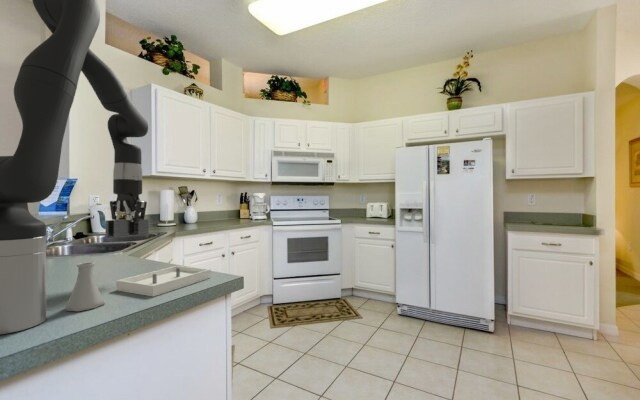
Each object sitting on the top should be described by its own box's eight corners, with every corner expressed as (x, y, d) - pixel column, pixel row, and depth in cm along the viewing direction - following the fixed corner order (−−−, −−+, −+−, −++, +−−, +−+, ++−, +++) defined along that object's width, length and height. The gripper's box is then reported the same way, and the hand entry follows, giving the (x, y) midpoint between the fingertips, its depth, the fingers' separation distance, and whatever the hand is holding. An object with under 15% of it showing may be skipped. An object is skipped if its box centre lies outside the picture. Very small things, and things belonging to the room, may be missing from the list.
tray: (153, 296, 76) (153, 282, 76) (116, 290, 82) (116, 276, 82) (210, 277, 95) (210, 266, 95) (177, 273, 100) (177, 262, 100)
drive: (116, 238, 86) (116, 220, 86) (105, 237, 88) (105, 220, 88) (148, 234, 95) (148, 218, 96) (137, 234, 97) (137, 218, 97)
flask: (58, 309, 68) (58, 265, 68) (94, 299, 74) (94, 259, 74) (75, 314, 64) (75, 268, 64) (111, 304, 71) (111, 262, 71)
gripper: (100, 178, 91) (100, 234, 91) (132, 177, 86) (131, 236, 86) (124, 180, 98) (124, 232, 98) (155, 179, 93) (155, 234, 92)
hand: (127, 234), depth 92 cm, fingers closed on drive, 5 cm apart
